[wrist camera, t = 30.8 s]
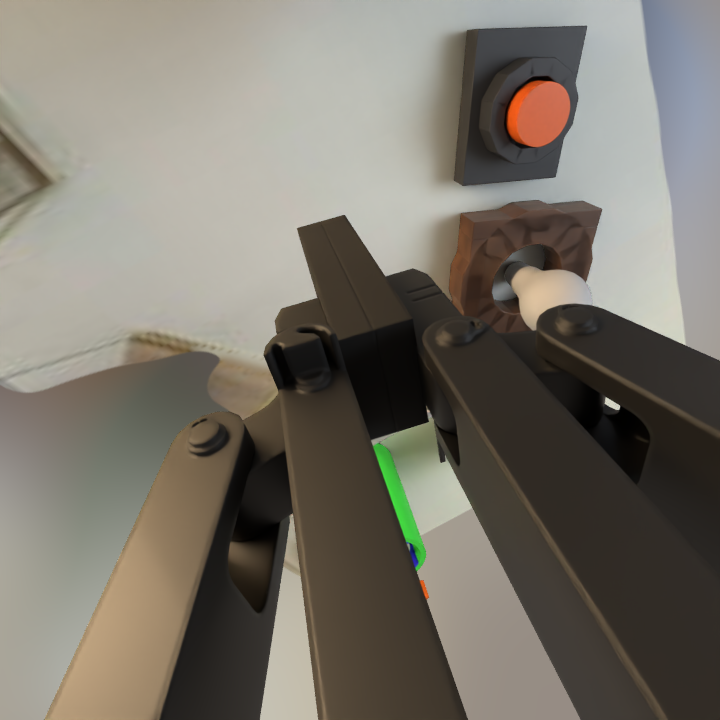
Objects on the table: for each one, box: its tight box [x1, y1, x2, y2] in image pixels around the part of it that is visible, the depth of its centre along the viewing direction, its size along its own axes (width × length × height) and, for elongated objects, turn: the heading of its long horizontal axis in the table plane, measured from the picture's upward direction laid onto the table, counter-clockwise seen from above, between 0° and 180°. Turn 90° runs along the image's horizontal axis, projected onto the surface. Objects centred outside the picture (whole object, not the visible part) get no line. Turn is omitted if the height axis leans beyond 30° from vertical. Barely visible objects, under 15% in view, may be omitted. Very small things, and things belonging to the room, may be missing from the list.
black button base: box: [454, 26, 587, 186], centre depth 36 cm, size 11×9×4 cm
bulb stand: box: [449, 200, 602, 333], centre depth 46 cm, size 14×14×3 cm
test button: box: [506, 80, 570, 147], centre depth 34 cm, size 4×4×2 cm
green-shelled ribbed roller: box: [373, 443, 429, 600], centre depth 52 cm, size 9×8×18 cm
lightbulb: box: [505, 261, 592, 330], centre depth 43 cm, size 6×6×11 cm
